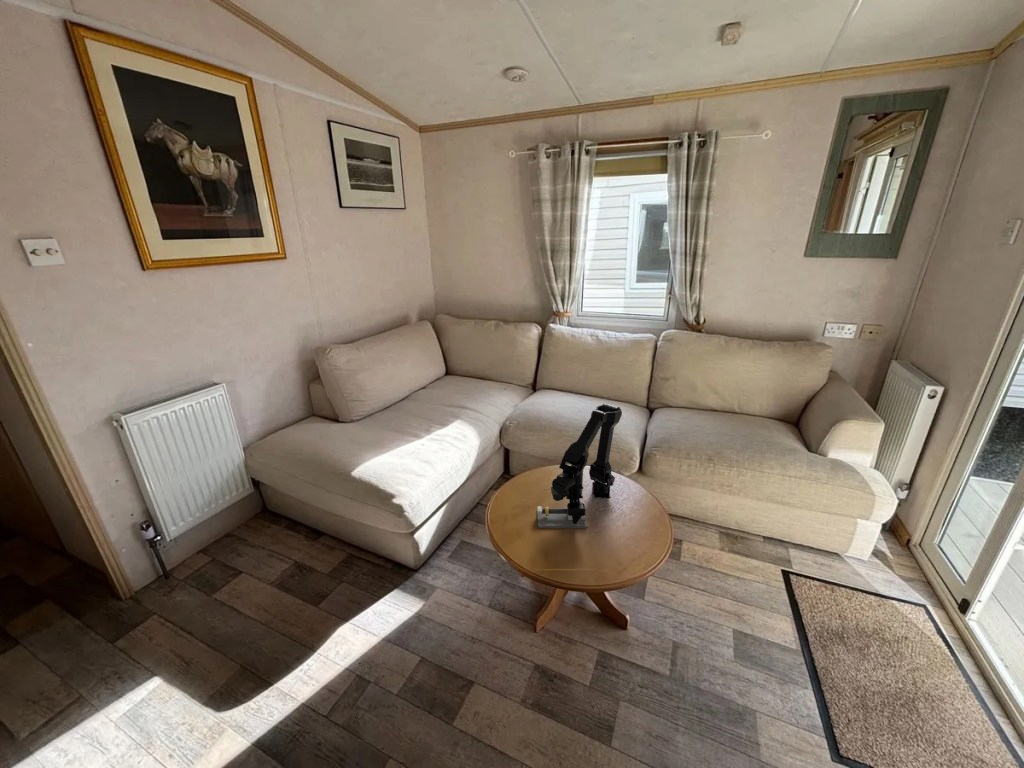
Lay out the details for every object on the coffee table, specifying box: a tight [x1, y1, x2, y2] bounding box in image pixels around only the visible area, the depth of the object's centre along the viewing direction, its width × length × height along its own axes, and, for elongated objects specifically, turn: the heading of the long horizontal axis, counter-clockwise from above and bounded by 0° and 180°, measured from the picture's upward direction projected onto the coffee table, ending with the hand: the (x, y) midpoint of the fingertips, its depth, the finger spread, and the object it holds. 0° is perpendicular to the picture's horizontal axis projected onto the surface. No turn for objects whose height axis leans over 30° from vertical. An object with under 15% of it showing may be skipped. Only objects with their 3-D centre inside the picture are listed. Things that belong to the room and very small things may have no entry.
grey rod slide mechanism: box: [536, 505, 588, 529], centre depth 150 cm, size 18×10×5 cm, turn 88°
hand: (573, 515), depth 151 cm, fingers open, 9 cm apart
